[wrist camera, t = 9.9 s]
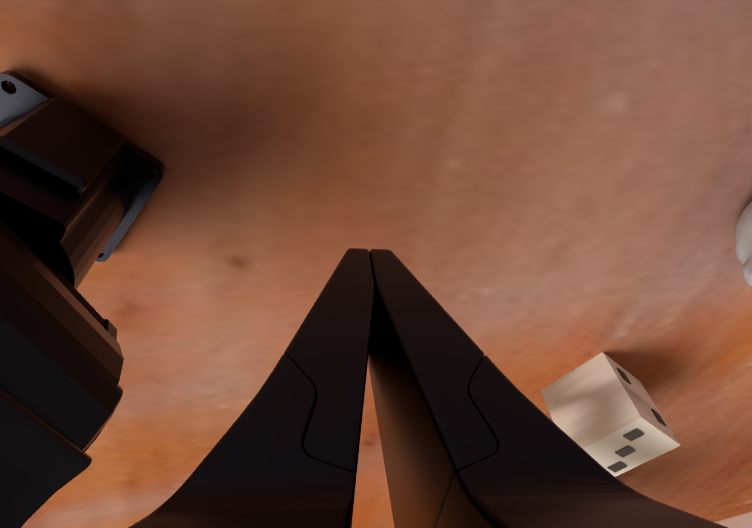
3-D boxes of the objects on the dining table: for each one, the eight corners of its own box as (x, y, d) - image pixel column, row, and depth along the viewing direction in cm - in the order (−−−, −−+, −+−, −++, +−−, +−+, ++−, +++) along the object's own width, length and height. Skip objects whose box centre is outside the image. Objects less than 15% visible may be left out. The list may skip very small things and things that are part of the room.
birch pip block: (578, 414, 35) (610, 480, 31) (539, 389, 33) (568, 457, 29) (640, 379, 33) (683, 446, 29) (603, 350, 30) (644, 418, 26)
